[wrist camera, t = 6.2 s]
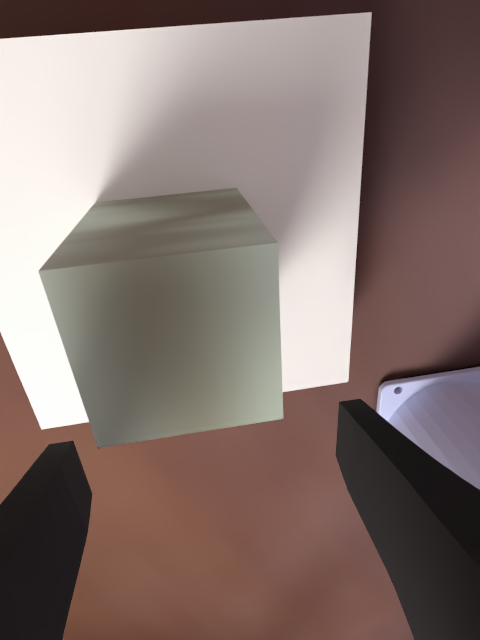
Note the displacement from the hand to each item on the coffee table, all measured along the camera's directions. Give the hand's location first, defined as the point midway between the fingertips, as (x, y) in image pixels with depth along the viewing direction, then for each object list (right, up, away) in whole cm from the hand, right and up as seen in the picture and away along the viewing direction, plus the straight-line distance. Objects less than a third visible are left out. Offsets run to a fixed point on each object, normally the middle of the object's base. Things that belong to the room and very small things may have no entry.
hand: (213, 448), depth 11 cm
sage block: (-1, +6, +3) cm, 6 cm away
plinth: (-2, +7, +6) cm, 10 cm away
